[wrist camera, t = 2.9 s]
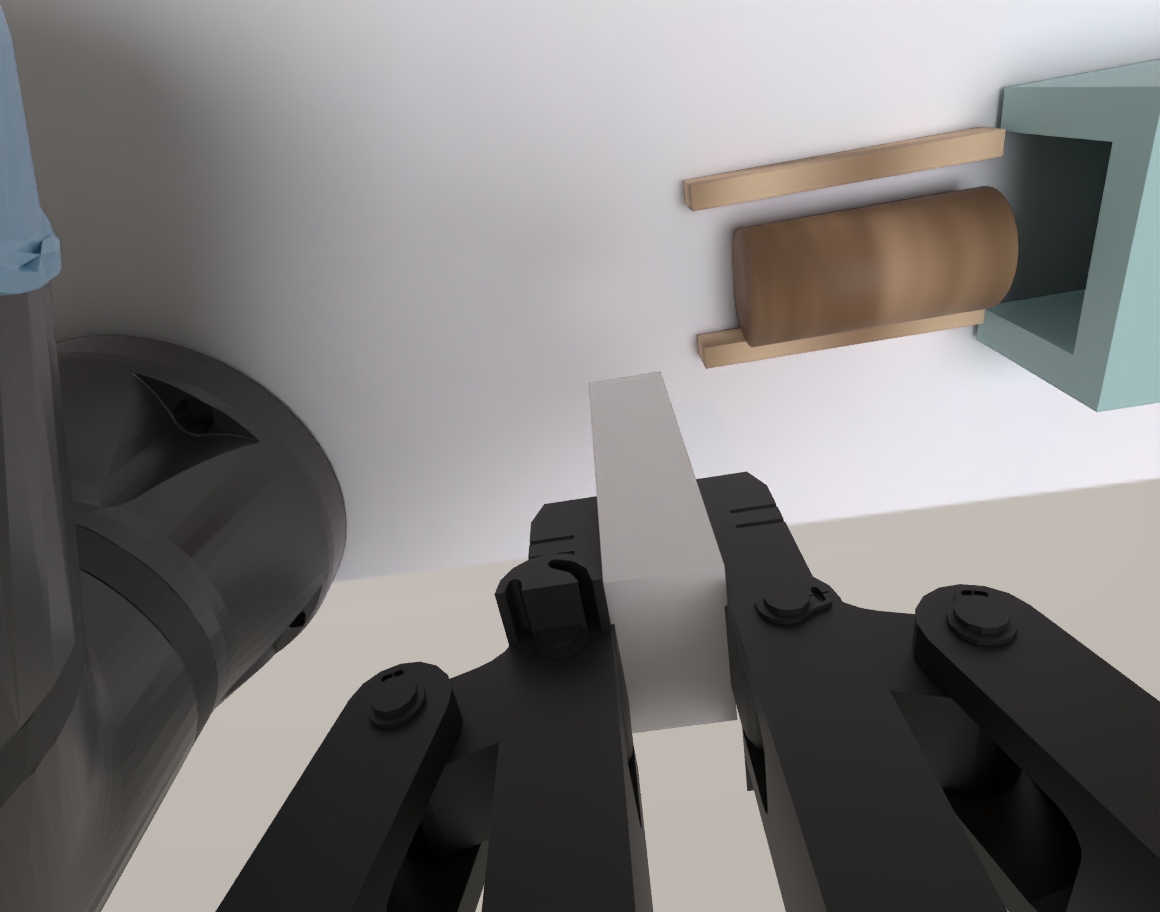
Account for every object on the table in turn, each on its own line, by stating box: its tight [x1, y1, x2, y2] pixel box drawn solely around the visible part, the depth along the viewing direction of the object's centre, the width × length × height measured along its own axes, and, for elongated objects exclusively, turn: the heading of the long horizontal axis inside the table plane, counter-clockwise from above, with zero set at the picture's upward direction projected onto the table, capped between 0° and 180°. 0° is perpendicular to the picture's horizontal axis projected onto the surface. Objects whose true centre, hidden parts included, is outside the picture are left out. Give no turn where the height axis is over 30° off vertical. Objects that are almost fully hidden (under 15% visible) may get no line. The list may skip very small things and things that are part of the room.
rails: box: [683, 127, 1006, 369], centre depth 24 cm, size 10×6×2 cm, turn 100°
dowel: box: [732, 186, 1018, 347], centre depth 23 cm, size 8×4×4 cm, turn 99°
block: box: [977, 59, 1160, 412], centre depth 21 cm, size 6×9×7 cm
